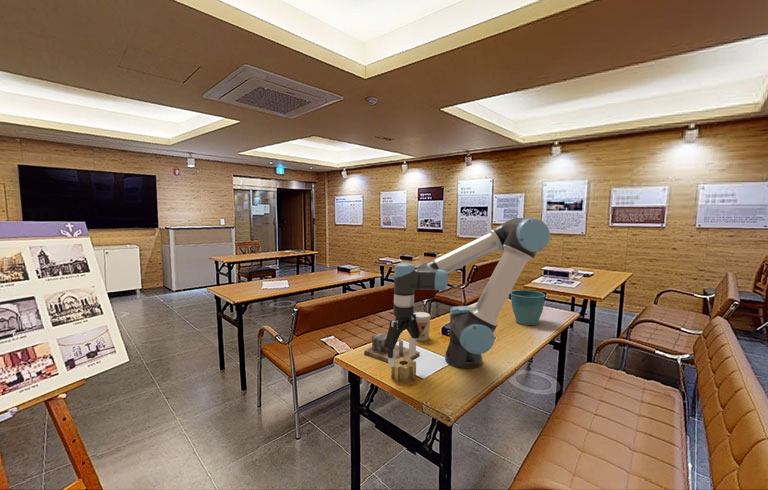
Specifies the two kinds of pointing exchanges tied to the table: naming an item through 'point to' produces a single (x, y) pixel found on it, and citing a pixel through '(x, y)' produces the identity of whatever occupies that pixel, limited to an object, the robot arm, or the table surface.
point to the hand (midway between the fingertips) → (402, 359)
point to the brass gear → (404, 370)
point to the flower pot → (527, 306)
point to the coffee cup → (423, 325)
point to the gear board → (382, 353)
